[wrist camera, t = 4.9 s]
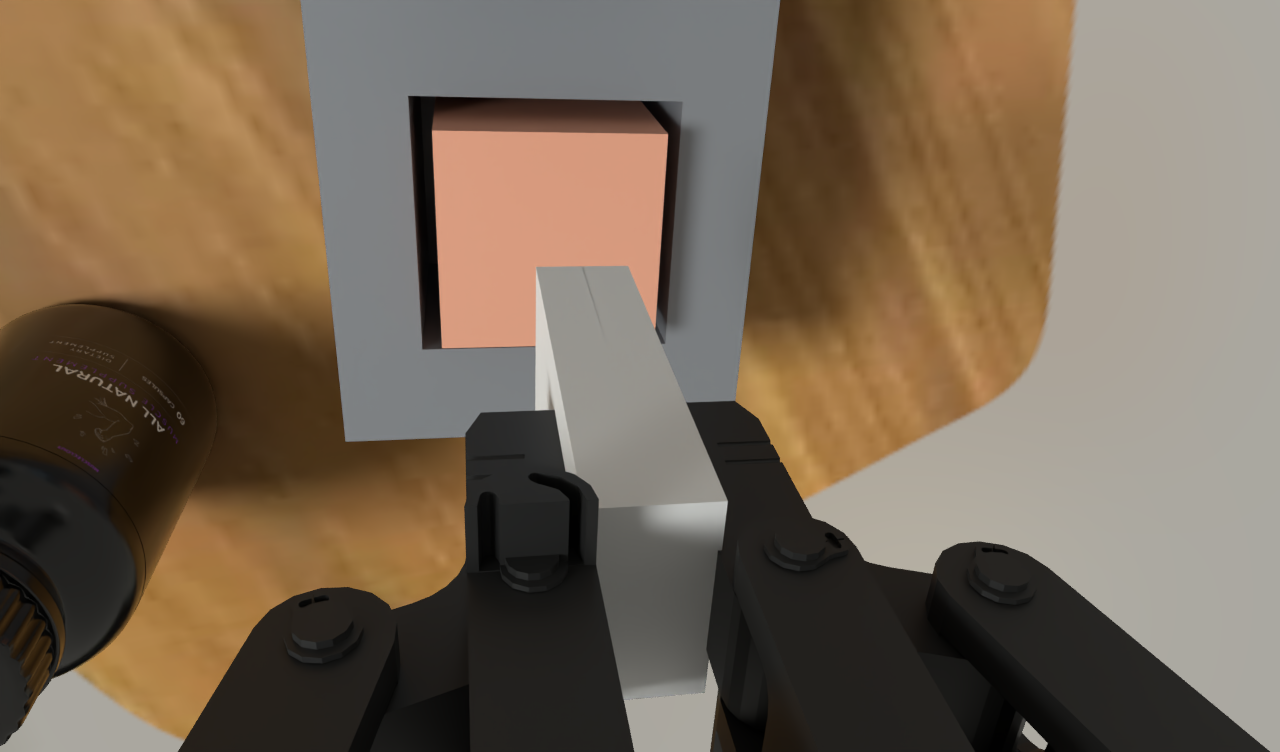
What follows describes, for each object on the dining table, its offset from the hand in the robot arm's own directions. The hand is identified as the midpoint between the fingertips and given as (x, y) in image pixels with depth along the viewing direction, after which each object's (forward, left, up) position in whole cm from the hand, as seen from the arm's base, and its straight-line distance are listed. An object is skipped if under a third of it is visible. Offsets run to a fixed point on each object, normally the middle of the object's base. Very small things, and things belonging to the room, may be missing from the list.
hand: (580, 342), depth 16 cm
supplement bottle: (+8, -13, -14) cm, 20 cm away
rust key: (0, 0, -11) cm, 11 cm away
